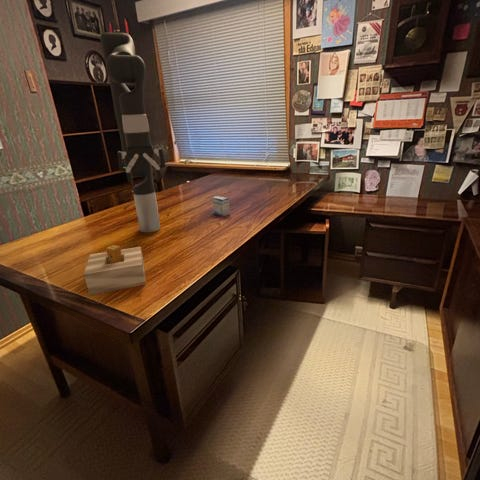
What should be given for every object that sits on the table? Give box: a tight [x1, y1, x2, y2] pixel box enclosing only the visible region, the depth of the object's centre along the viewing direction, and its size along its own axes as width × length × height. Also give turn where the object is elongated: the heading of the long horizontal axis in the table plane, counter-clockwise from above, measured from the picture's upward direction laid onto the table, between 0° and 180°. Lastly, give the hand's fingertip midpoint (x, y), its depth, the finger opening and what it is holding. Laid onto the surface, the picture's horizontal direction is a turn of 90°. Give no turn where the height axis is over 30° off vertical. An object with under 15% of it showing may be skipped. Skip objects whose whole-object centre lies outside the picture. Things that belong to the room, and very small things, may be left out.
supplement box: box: [105, 244, 123, 264], centre depth 94 cm, size 3×3×10 cm
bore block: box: [83, 246, 147, 296], centre depth 95 cm, size 14×16×7 cm
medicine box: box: [211, 195, 230, 217], centre depth 153 cm, size 8×4×9 cm, turn 47°
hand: (145, 182), depth 99 cm, fingers open, 8 cm apart
